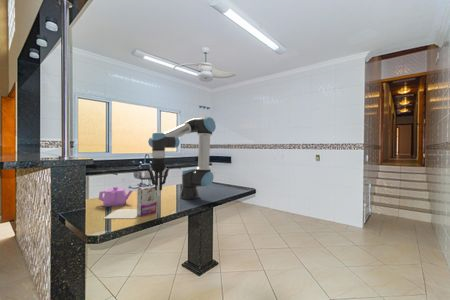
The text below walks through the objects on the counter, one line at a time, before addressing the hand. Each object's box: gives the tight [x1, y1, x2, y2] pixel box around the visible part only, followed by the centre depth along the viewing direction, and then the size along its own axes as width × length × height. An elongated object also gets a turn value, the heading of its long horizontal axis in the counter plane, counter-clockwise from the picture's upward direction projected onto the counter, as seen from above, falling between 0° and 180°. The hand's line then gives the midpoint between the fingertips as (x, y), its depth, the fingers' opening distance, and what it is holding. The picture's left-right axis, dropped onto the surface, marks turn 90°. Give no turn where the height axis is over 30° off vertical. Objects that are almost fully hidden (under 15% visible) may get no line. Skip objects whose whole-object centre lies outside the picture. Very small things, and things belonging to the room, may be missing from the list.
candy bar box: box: [136, 185, 158, 217], centre depth 138 cm, size 11×5×16 cm, turn 143°
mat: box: [103, 208, 139, 220], centre depth 138 cm, size 18×18×1 cm
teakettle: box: [98, 186, 133, 207], centre depth 161 cm, size 17×17×12 cm
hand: (158, 195), depth 138 cm, fingers closed
